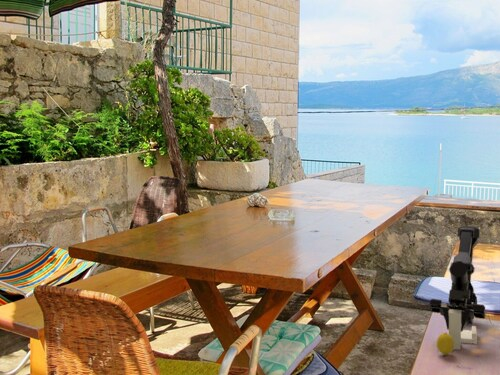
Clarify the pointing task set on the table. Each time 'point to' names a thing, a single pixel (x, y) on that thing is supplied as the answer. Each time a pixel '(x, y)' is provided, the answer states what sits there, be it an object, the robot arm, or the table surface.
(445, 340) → the lemon
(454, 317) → the clay bar
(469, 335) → the rack
